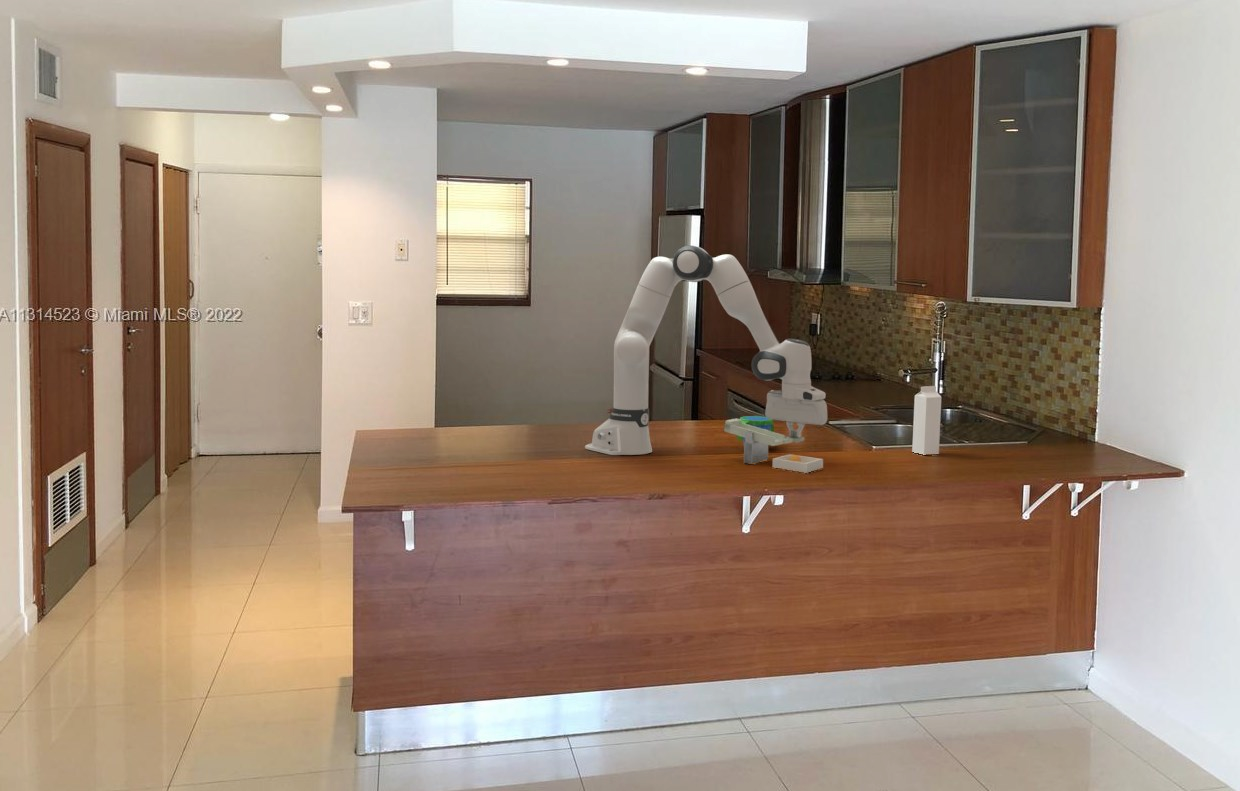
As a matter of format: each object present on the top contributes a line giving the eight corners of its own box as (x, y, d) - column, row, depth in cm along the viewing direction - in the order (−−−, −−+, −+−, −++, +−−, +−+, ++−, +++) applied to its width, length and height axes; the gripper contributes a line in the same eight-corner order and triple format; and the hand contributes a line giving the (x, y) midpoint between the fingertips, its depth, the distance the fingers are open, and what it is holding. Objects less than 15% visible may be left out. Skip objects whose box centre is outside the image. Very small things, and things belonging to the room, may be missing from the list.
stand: (743, 463, 335) (744, 432, 333) (759, 459, 342) (760, 428, 340) (752, 465, 333) (752, 433, 332) (767, 460, 340) (768, 429, 338)
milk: (938, 455, 352) (942, 387, 349) (923, 456, 350) (927, 387, 347) (926, 451, 358) (930, 384, 355) (911, 453, 355) (915, 385, 352)
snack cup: (762, 444, 369) (763, 414, 368) (784, 448, 361) (785, 418, 359) (726, 448, 361) (727, 417, 359) (747, 453, 352) (748, 422, 351)
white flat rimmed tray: (772, 468, 328) (772, 458, 328) (789, 463, 335) (789, 454, 335) (806, 473, 321) (806, 463, 320) (822, 468, 328) (823, 459, 328)
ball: (797, 468, 326) (786, 467, 328) (803, 466, 329) (792, 465, 331) (797, 456, 326) (786, 455, 328) (803, 454, 328) (792, 453, 331)
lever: (724, 431, 340) (725, 420, 339) (751, 425, 352) (752, 415, 351) (777, 447, 328) (779, 436, 327) (803, 440, 340) (805, 429, 339)
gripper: (761, 390, 341) (761, 434, 343) (820, 395, 329) (818, 441, 330) (772, 388, 346) (771, 431, 348) (830, 393, 333) (829, 438, 335)
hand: (795, 436), depth 339 cm, fingers closed
